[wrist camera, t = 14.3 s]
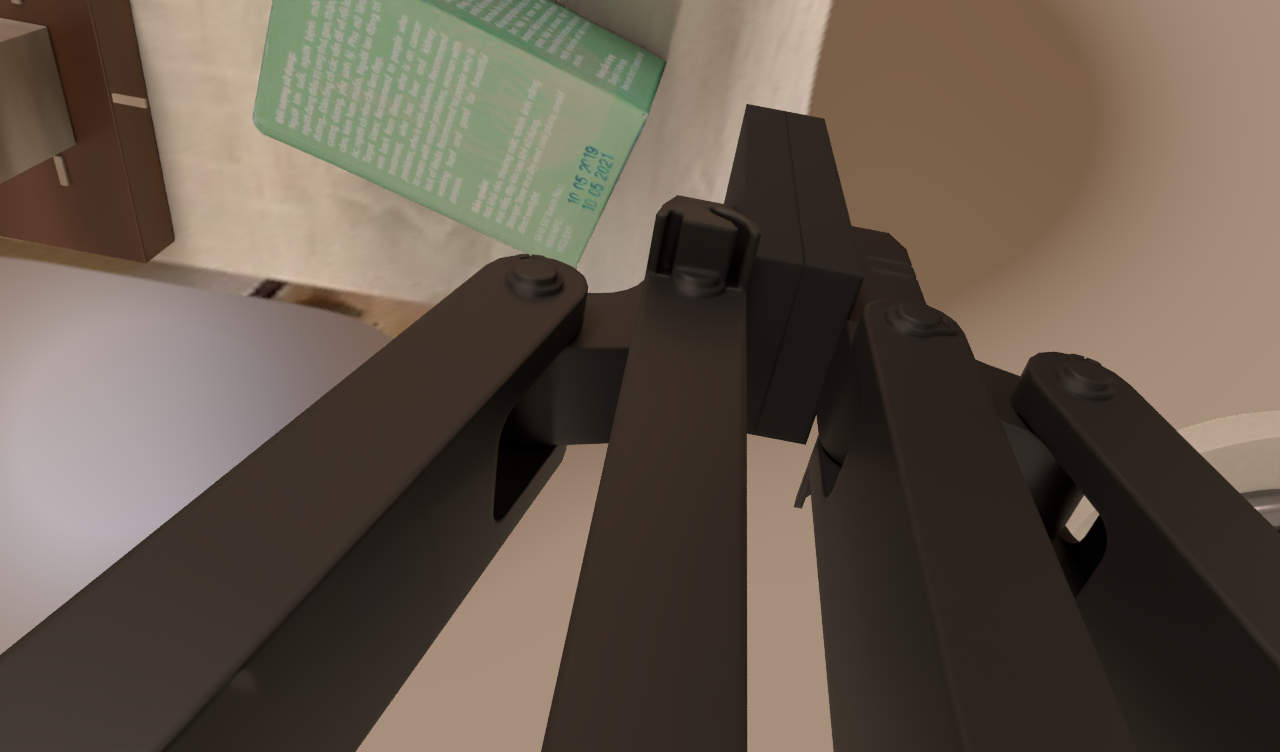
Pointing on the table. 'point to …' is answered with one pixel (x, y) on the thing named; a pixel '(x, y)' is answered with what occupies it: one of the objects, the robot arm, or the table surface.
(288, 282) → the table surface
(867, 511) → the robot arm
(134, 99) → the dial panel
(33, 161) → the red-tipped grey block
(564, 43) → the box
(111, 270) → the table surface
